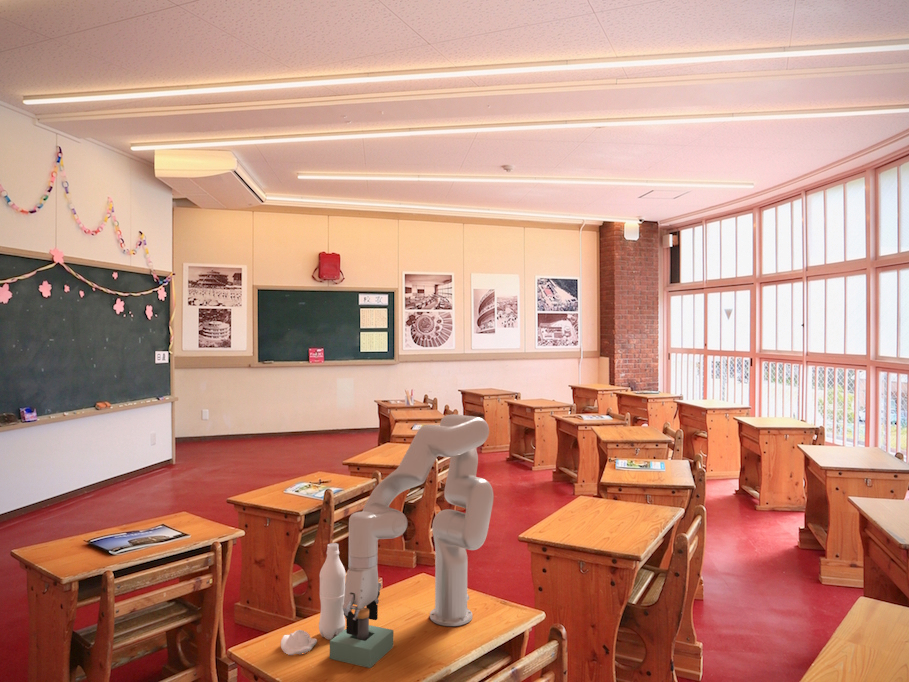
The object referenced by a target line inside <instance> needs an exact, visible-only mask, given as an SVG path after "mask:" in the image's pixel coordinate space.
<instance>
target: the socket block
mask: <svg viewBox="0 0 909 682" xmlns="http://www.w3.org/2000/svg"><path fill="white" fill-rule="evenodd" d="M393 648H394V629H391V628H390V629H389V628H385V627H382V626H381V627H379V626H375V625H370V624H369V638H368V639H367V640H366V641H363V640H359V639H356V636H355V635H351V634H347V633H346V628H345V629H344V631H342V632H341V633H340V634H338V635H337V636H336V635H335V636H333V638H332V639H330V640H329V659H330V660H334V661H339V662H343V663H347V664H351V665H356V666H360V667H363V668H364V667H365V668H368V669H371V668H372V667H373V666H375V664H377V663H378V662H379V661H380V660H381V659H382V658H383V657H384V656H385V655H386V654H387V653H389V652H390V651H391V650H392V649H393Z"/></svg>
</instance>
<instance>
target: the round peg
mask: <svg viewBox="0 0 909 682" xmlns="http://www.w3.org/2000/svg"><path fill="white" fill-rule="evenodd" d="M357 619H358V635H356V639H359V640H363V641H366V640H367V639H368V638H369V625H370V622H369V621H370V619H369V609H368V608H366V607H364V608H362V609H361V610H359V613H358V616H357Z"/></svg>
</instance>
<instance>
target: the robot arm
mask: <svg viewBox="0 0 909 682" xmlns="http://www.w3.org/2000/svg"><path fill="white" fill-rule="evenodd" d="M489 427H490V426H489V424H488V422H487V421H486V420H485V419H484V418H482V417H479V416H473V415H465V414H464V415H463V414H458V413H457V414H453V413H452V414H447V415H444V416H442V418H441V420H440V423H439V424H438V425H436V424H426V425H423V426H421V427H419V429H418V430H417V432H416V433H415V435H414V437H413V439H412V441H411V443H410V445H409V447H408V449H407V450H406V452H405V454H404V456H403V457H402V459H401V461H400V463H399V465H398V466H397V468H396V469H395V470H393V471H391V472H390V473H389V474H388V475H387V476H386V477H385V478H384V479H383V480H381V481H380V482H379V483H378V484H377V485H376V486H375V487H374V489H372V492H371V494H370V495H369V497H368V499H367V501H366V503H365V504H364V506H363V509H362V511H356V512H353V513H351V515H350V516H349V518H348V568H347V572H346V576H345V597H344V605H343V607H342V608H343V611H344V617H345V629H346V633H347V634H351V635H355V636H356V635H358V619H357V616H358V613H359V610H361V609H362V608H368V609H369V620H372V621H377V620H378V608H379V606H378V604H379V603H380V602H379V597H380V593H381V592H380V591H381V586H382V583H380V582H379V573H378V543H379V542H378V541H379V540H386V539H390V540H391V539H395V538H398V537H401V536H402V535H403V534H404V533H406V530H407V528H408V519H407V517H406V516H407V515H405V514H404V513H403V512H402V511H400V510H399V509H396V508H392V507H390V505H391V503H392V502H393V501H394V499H396V497H397V496H399V495H400V494H401V493H403V492H405V491H407V490H409V489H412V488H416V487H418V486H421V485H423V484H424V483H425V482H426V480H427V478H428V476H429V474H430V472H431V469H432V467H433V466H434V463H435V462H436V460H437V458H438V457H443V458H450V459H449V466H448V470H447V476H446V481H445V486H444V490H443V491H444V498H445V500H446V502H447V503H448V504H451V505H453V506H456V507H460V508H463V509H465V512H463V511H459V510H457V509H449V508H447V509H443V510H440V511H439V512H438V513H437V514H436V515H435V516H434V518H433V520H432V524H431V525H432V527H431V528H432V536H433V540H434V549H435V551H434V552H435V565H434V566H435V570H434V571H435V575H434V576H435V579H434V580H435V581H434V585H435V588H434V589H435V590H434V592H435V594H434V595H435V598H434V604H435V605H434V607H435V608H433V609H432V610H431V611H430V612H429V618H430V619H429V620H431V621H432V623H434V624H436V625H440V626H444V627H445V626H446V627H459V626H463V625H466V624H468V623H470V621H472V620H473V612H472V611H471V610H470V609H469V608H468V601H469V600H470V595H469V594H468V554H467V553H468V552H467V550H469V551H476V550H478V549H480V548H481V547H482V546H483V545H484V543H485V541H486V540H487V539H486V538H487V537H488V532H489V526H490V521H491V515H492V510H493V505H494V489H493V487H492V484H491V483H490V482H489V480H487V479H485V478H482V477H477V472H478V471H477V470H478V465H479V464H478V463H479V455H478V451H477V448H478V447H481V446H482V445H483V444H484V443H486V441H487V440H488V437H489V435H490V428H489ZM353 610H354V613H353V612H352V611H353Z"/></svg>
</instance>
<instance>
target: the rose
mask: <svg viewBox="0 0 909 682" xmlns="http://www.w3.org/2000/svg"><path fill="white" fill-rule="evenodd" d="M317 643H318V639H317V638H312V637H311V635H310V634H309V633H308V632H307V631H305V630H303V629H298V630H295V631H294V632H291V633H290V634H284V635H282V638H281V640H280V648H281V650H282V651H283V653H284V654H285V653H286V654H288V655H287V656H295V655H294V654H299V655H303V654H302V653H304V654H306V652H307V653H309V652H311V651H310V650H312V649H313V647H315V646H316V644H317ZM308 651H309V652H308ZM286 654H285V655H286Z"/></svg>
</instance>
